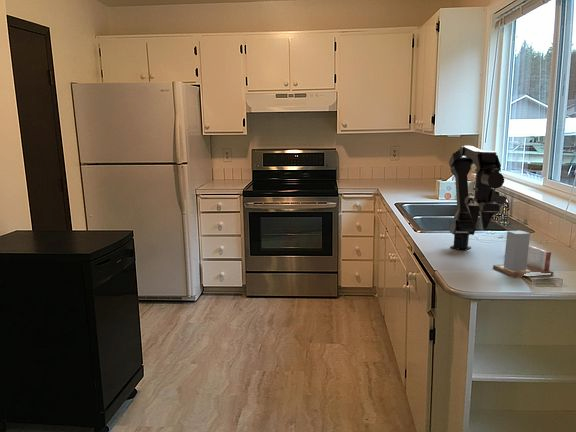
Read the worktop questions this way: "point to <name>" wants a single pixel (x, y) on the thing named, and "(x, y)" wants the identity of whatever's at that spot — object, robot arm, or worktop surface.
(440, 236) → the worktop surface
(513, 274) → the shelf board
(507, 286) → the worktop surface
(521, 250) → the tall blue-gray box
